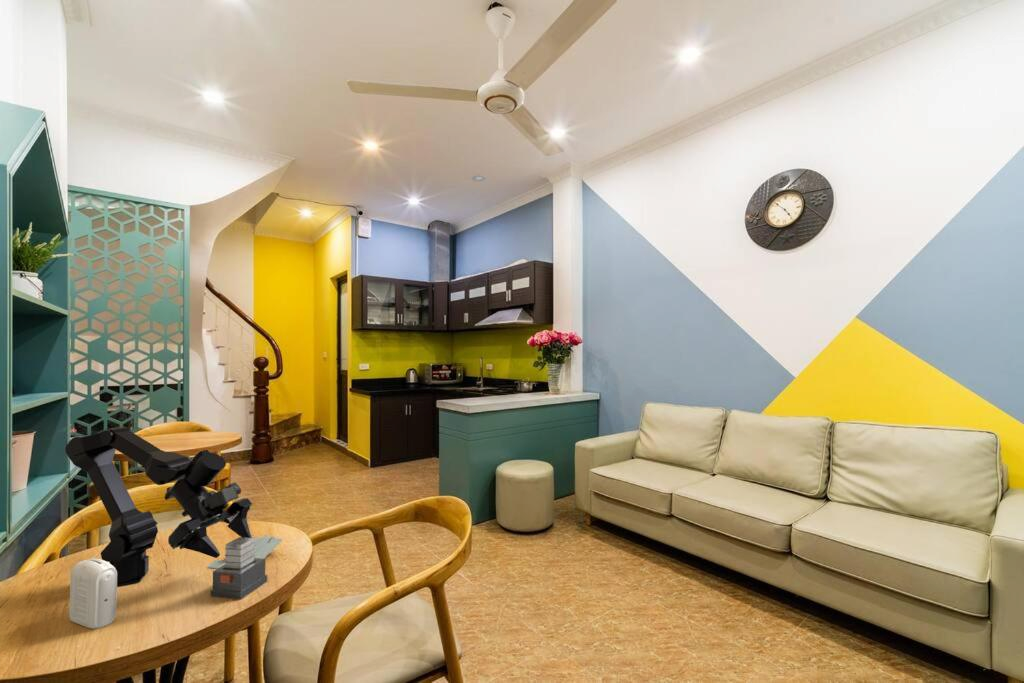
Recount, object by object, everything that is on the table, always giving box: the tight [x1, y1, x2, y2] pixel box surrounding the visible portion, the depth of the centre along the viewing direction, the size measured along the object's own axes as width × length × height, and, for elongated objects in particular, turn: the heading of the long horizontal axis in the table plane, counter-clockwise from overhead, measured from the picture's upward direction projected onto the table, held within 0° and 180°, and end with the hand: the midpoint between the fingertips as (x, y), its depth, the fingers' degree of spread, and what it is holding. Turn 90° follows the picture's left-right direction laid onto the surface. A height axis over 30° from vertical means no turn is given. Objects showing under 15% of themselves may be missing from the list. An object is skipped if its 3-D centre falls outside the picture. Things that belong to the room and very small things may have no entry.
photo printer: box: [68, 558, 118, 630], centre depth 91 cm, size 10×4×12 cm, turn 69°
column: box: [224, 536, 254, 571], centre depth 102 cm, size 4×4×9 cm
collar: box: [209, 558, 268, 600], centre depth 102 cm, size 8×8×6 cm
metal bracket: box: [207, 533, 283, 571], centre depth 117 cm, size 14×6×15 cm
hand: (234, 547), depth 103 cm, fingers open, 9 cm apart
